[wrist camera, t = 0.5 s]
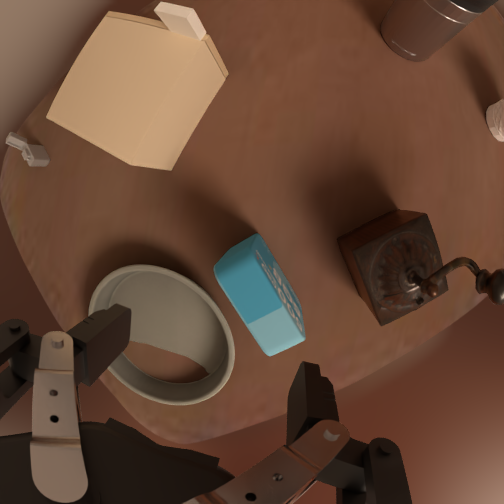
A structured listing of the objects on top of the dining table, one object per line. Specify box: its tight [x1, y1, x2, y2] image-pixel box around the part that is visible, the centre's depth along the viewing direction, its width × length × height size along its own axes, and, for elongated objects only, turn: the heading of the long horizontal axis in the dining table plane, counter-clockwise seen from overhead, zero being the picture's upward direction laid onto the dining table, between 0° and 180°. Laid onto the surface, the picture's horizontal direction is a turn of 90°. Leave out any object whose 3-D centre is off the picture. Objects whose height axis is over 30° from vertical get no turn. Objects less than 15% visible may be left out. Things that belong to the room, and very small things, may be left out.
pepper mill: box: [337, 209, 504, 326], centre depth 29 cm, size 16×11×18 cm
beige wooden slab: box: [106, 2, 229, 78], centre depth 27 cm, size 1×16×17 cm, turn 60°
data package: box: [214, 233, 305, 356], centre depth 35 cm, size 12×4×12 cm, turn 31°
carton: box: [46, 16, 226, 171], centre depth 31 cm, size 15×16×12 cm
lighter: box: [6, 132, 50, 166], centre depth 36 cm, size 7×2×8 cm, turn 37°
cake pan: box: [88, 264, 235, 405], centre depth 42 cm, size 25×25×4 cm
